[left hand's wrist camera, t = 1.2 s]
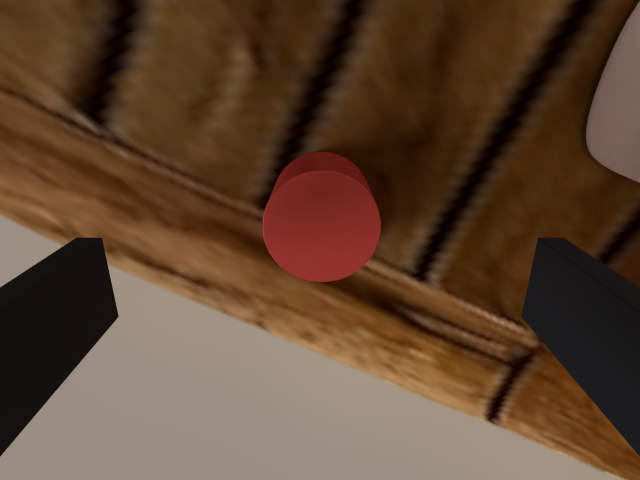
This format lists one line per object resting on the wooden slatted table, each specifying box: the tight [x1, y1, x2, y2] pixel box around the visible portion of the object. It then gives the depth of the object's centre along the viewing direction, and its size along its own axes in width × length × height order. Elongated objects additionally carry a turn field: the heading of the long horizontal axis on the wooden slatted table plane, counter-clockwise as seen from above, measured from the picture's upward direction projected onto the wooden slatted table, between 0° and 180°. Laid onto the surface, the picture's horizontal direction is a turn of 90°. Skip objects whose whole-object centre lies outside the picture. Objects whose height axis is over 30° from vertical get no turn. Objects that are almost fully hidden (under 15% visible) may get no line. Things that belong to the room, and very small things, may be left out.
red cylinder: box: [262, 152, 381, 282], centre depth 18 cm, size 5×5×4 cm
